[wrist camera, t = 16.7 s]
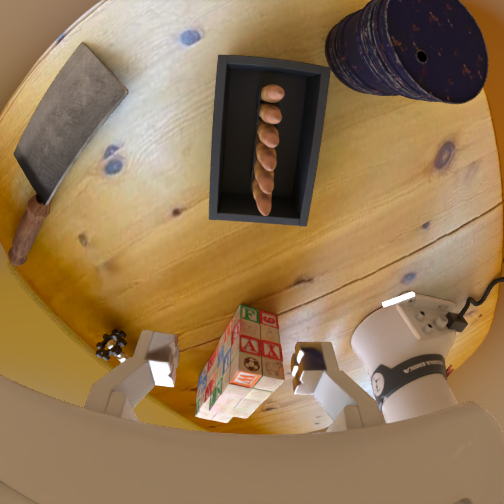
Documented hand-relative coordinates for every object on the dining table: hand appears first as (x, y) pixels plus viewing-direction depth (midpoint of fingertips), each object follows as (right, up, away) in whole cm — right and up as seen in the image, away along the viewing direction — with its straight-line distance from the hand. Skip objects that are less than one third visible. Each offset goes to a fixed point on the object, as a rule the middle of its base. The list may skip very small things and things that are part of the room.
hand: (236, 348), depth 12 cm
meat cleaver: (-28, +16, +18) cm, 37 cm away
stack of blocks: (-3, -13, +36) cm, 38 cm away
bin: (+2, +17, +18) cm, 25 cm away
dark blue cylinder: (+13, +26, +13) cm, 32 cm away
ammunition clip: (+2, +17, +17) cm, 24 cm away
